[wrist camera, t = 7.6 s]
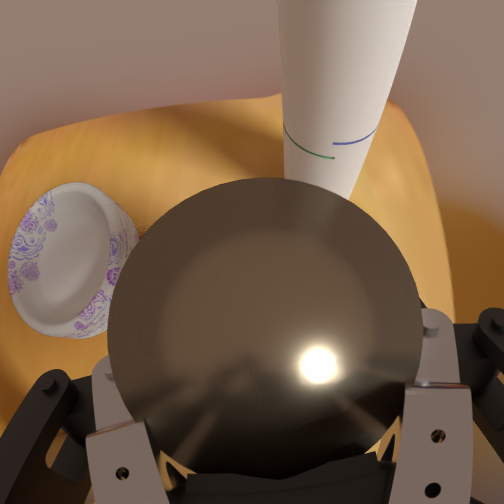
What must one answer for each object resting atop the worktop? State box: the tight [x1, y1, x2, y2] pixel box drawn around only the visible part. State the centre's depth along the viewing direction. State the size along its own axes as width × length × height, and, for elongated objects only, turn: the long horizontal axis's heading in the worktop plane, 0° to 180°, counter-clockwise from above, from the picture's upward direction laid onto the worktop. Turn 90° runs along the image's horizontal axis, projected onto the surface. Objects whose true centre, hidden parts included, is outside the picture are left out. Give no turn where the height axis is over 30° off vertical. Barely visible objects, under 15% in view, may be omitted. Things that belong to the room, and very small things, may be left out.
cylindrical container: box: [277, 0, 417, 200], centre depth 20 cm, size 7×7×25 cm
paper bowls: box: [8, 182, 139, 339], centre depth 28 cm, size 15×15×8 cm
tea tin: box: [107, 178, 423, 480], centre depth 10 cm, size 6×6×10 cm
